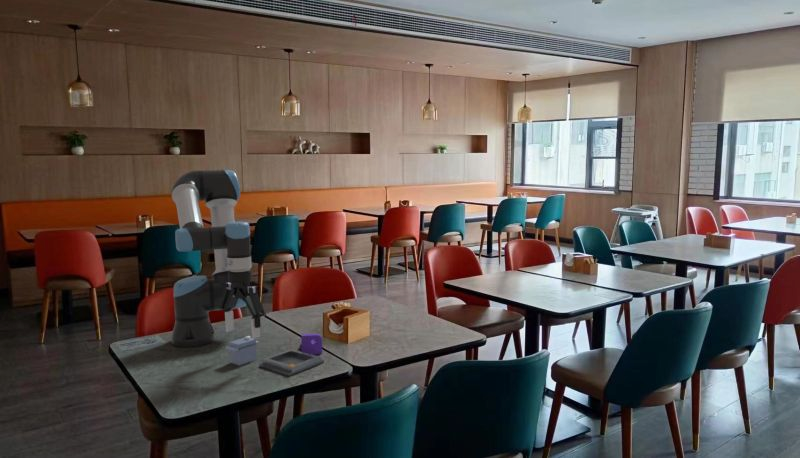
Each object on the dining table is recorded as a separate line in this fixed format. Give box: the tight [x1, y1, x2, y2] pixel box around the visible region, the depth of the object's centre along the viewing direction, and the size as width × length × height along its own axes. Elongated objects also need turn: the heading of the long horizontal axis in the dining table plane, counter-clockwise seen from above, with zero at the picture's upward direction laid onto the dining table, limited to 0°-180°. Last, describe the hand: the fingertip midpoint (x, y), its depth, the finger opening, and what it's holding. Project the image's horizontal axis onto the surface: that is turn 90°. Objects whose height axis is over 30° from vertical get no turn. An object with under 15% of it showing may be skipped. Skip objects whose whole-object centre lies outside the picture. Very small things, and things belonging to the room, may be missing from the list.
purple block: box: [300, 332, 323, 355], centre depth 210 cm, size 12×7×7 cm, turn 9°
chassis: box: [258, 348, 325, 377], centre depth 194 cm, size 14×15×3 cm
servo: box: [225, 335, 261, 366], centre depth 198 cm, size 4×10×8 cm, turn 142°
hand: (242, 334), depth 197 cm, fingers open, 13 cm apart
